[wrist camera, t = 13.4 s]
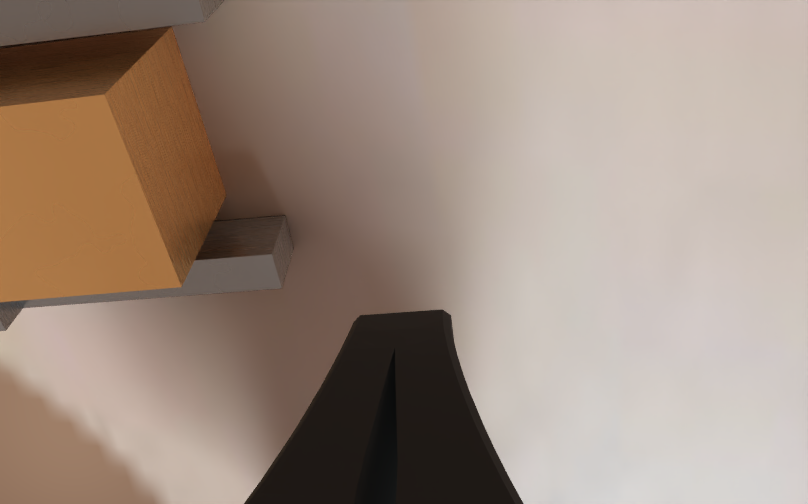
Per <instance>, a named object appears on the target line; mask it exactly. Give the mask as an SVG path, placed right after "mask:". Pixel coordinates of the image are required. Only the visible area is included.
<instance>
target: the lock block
mask: <svg viewBox="0 0 808 504" xmlns="http://www.w3.org/2000/svg"><path fill="white" fill-rule="evenodd" d="M225 197H226V192H225V189H224V186H223V183H222V180H221V177H220V174H219V171H218V168H217V165H216V162H215V159H214V155H213V152H212V149H211V146H210V143H209V140H208V137H207V134H206V131H205V128H204V125H203V122H202V118H201V115H200V112H199V109H198V106H197V103H196V100H195V97H194V94H193V91H192V88H191V85H190V82H189V78H188V75H187V72H186V69H185V66H184V63H183V60H182V57H181V54H180V51H179V48H178V45H177V41H176V38H175V35H174V32H173V29H172V27H165V28H157V29H150V30H142V31H134V32H126V33H118V34H111V35H103V36H95V37H87V38H79V39H72V40H64V41H56V42H48V43H40V44H33V45H25V46H17V47H9V48H1V49H0V302H9V301H21V300H33V299H45V298H57V297H69V296H81V295H93V294H105V293H117V292H129V291H141V290H153V289H165V288H177V287H182V285H183V283H184V281H185V279H186V277H187V275H188V273H189V271H190V269H191V267H192V265H193V263H194V261H195V259H196V257H197V255H198V253H199V251H200V249H201V246H202V244H203V242H204V240H205V238H206V236H207V234H208V232H209V230H210V228H211V226H212V224H213V222H214V220H215V218H216V216H217V214H218V212H219V210H220V208H221V206H222V204H223V201H224V199H225Z"/></svg>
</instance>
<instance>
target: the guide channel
mask: <svg viewBox="0 0 808 504" xmlns="http://www.w3.org/2000/svg"><path fill="white" fill-rule="evenodd" d="M223 1H224V0H0V46H6V45H15V44H23V43H32V42H40V41H48V40H57V39H65V38H74V37H82V36H91V35H99V34H107V33H116V32H124V31H133V30H141V29H149V28H158V27H166V26H175V25H183V24H191V23H200V22H205V21H206V20H207V19H208V18H209V17H210V16H211V14H212V13H213V12H214V11H215V10H216V9H217V8H218V7H219V5H220V4H221V3H222V2H223ZM293 249H294V248H293V244H292V240H291V236H290V233H289V229H288V225H287V221H286V217H285V215H284V216H273V217H261V218H250V219H238V220H227V221H215V222H213V224H212V226H211V228H210V230H209V232H208V234H207V236H206V238H205V240H204V242H203V244H202V246H201V249H200V251H199V253H198V255H197V257H196V259H195V261H194V263H193V265H192V267H191V269H190V271H189V273H188V275H187V277H186V279H185V281H184V283H183V285H182V287H177V288H165V289H153V290H141V291H129V292H117V293H105V294H93V295H81V296H69V297H57V298H45V299H33V300H21V301H9V302H0V331H6V330H7V329H8V327H9V326H10V325H11V323H12V322H13V321H14V319H15V318H16V317H17V315H18V314H19V313H20V311H21V310H22V309H23V308H30V307H43V306H56V305H69V304H83V303H96V302H109V301H122V300H136V299H149V298H162V297H175V296H188V295H202V294H215V293H228V292H241V291H255V290H268V289H281V288H282V286H283V282H284V279H285V276H286V272H287V269H288V266H289V262H290V259H291V255H292V252H293Z"/></svg>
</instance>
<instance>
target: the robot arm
mask: <svg viewBox="0 0 808 504" xmlns="http://www.w3.org/2000/svg"><path fill="white" fill-rule="evenodd" d="M244 504H523V502H522V500H521V498H520V497H519V495H518V493H517V491H516V489H515V488H514V486H513V484H512V482H511V480H510V478H509V476H508V474H507V472H506V471H505V469H504V467H503V465H502V463H501V461H500V459H499V457H498V455H497V453H496V451H495V449H494V447H493V445H492V442H491V440H490V438H489V436H488V434H487V432H486V430H485V427H484V425H483V423H482V420H481V418H480V416H479V413H478V411H477V408H476V406H475V404H474V401H473V399H472V396H471V394H470V392H469V389H468V386H467V383H466V381H465V378H464V375H463V372H462V369H461V366H460V362H459V359H458V356H457V352H456V348H455V344H454V338H453V329H452V321H451V315H449V314H448V313H447V312H445V311H444V310H430V311H416V312H402V313H388V314H374V315H360V316H359V317H358V318H357V319H356V320H355V321H354V323H353V325H352V327H351V330H350V332H349V334H348V336H347V338H346V340H345V342H344V344H343V346H342V348H341V350H340V352H339V354H338V356H337V358H336V360H335V362H334V364H333V365H332V367H331V369H330V371H329V373H328V375H327V376H326V378H325V380H324V382H323V384H322V386H321V387H320V389H319V391H318V392H317V394H316V396H315V397H314V399H313V401H312V402H311V404H310V406H309V407H308V409H307V411H306V412H305V414H304V416H303V418H302V419H301V421H300V423H299V424H298V426H297V427H296V429H295V431H294V432H293V434H292V435H291V437H290V438H289V440H288V441H287V443H286V444H285V446H284V447H283V449H282V450H281V452H280V453H279V455H278V456H277V458H276V459H275V461H274V462H273V464H272V465H271V466H270V468H269V469H268V471H267V472H266V474H265V475H264V477H263V478H262V480H261V481H260V483H259V484H258V485H257V487H256V488H255V489H254V491H253V492H252V494H251V495H250V496H249V498H248V499H247V500H246V502H245V503H244Z"/></svg>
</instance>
